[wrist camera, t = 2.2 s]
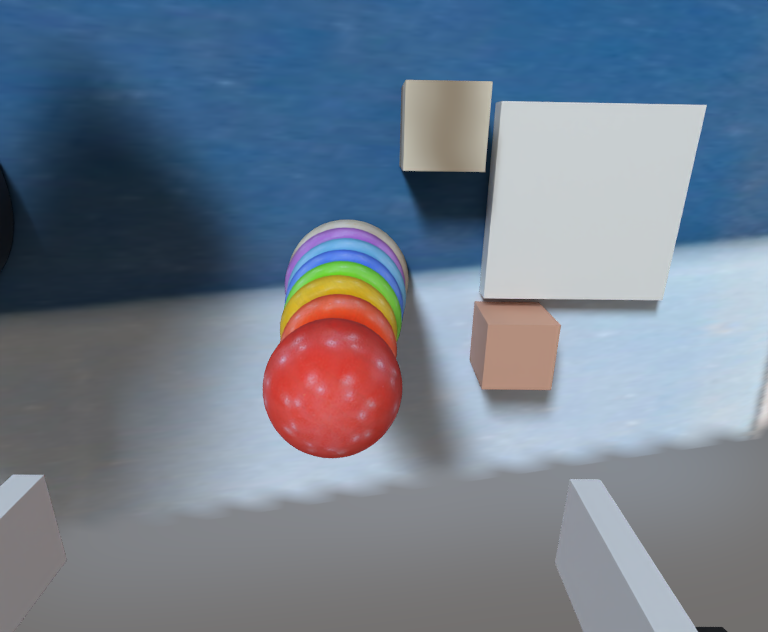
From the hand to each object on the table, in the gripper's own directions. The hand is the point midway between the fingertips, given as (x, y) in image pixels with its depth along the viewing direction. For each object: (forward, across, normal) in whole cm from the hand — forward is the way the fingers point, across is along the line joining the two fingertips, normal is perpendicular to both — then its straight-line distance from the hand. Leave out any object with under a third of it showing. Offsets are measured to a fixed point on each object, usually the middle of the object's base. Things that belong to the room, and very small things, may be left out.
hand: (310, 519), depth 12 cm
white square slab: (+22, +15, +5) cm, 27 cm away
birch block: (+22, +5, +10) cm, 25 cm away
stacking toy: (+22, 0, 0) cm, 23 cm away
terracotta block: (+22, +11, -4) cm, 25 cm away
